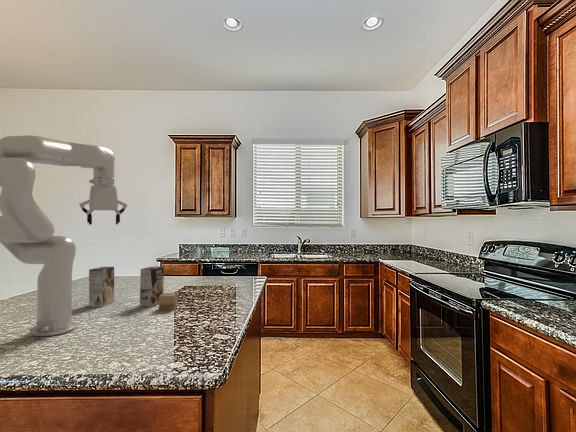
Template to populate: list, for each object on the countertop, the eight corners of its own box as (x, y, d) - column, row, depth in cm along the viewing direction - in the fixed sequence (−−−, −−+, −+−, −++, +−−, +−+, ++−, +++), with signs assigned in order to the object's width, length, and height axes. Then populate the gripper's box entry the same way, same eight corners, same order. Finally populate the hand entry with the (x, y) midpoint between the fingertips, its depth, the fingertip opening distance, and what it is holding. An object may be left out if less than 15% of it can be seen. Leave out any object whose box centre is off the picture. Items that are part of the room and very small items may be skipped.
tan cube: (173, 310, 137) (174, 295, 137) (158, 310, 137) (158, 296, 137) (177, 306, 143) (177, 292, 143) (162, 307, 143) (162, 293, 143)
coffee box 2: (153, 306, 143) (153, 269, 143) (139, 306, 144) (139, 268, 144) (164, 301, 152) (164, 266, 152) (151, 301, 153) (151, 266, 153)
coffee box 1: (100, 301, 152) (101, 266, 152) (114, 301, 152) (114, 266, 152) (88, 306, 143) (88, 269, 143) (103, 306, 143) (103, 269, 143)
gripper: (77, 181, 130) (77, 224, 130) (127, 182, 137) (126, 224, 137) (80, 183, 137) (80, 224, 137) (127, 184, 144) (127, 224, 144)
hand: (103, 224), depth 137 cm, fingers open, 9 cm apart
